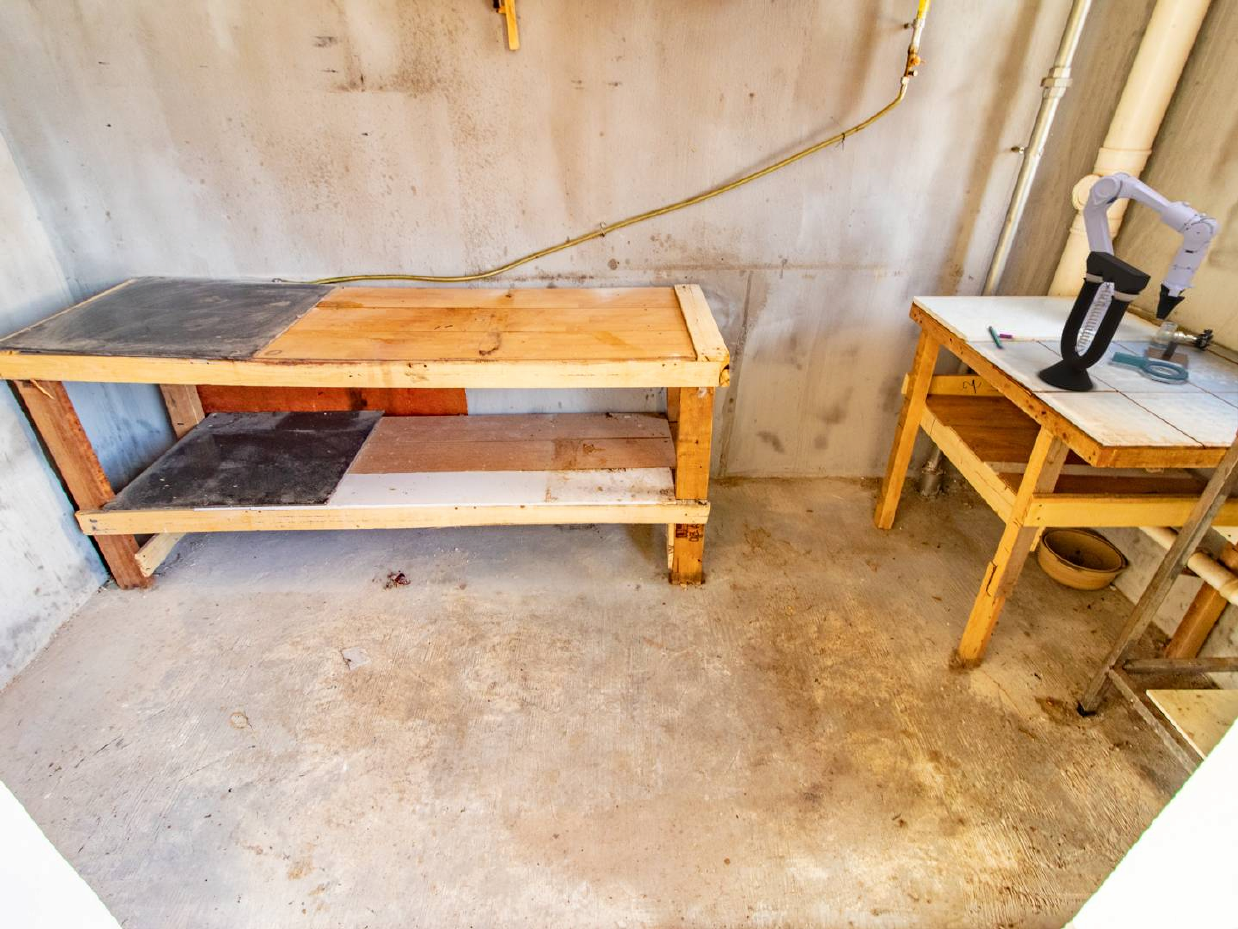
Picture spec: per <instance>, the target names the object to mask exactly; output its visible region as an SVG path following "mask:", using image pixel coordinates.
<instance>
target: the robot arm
mask: <svg viewBox="0 0 1238 929" xmlns="http://www.w3.org/2000/svg"><path fill="white" fill-rule="evenodd" d="M1118 199H1133V200H1135V201H1136V202H1138V203H1140V204H1142V205H1144V206H1146V207H1147V208H1149V209H1151V210H1153V211H1155V212H1156V213H1158V214H1159V220H1160V222H1161V223H1163V224H1164V225H1166V226H1168V227H1170V228H1171V229H1172V230H1174V231H1175V232H1177V233H1178V234H1180V235H1183V242H1182V244H1181V246H1180V247H1179V248H1178V251H1177V253H1176V255H1175V257H1174V259H1173V261H1172V263H1171V265H1170V267H1169V269H1168V271H1167V273H1166V275H1165V278H1164V279H1163V280H1162V282H1161V284H1160V291H1159V293H1158V295H1159V300H1158V303H1157V306H1156V314H1155V319H1157V320H1163V321H1165V320H1166V319H1167V318H1168V317H1169V315H1170V314H1172V312H1173V311H1174V309H1175V308H1176V307H1177V306H1178V305H1179V304H1180V303H1182V302H1183V301H1184V300H1185V298H1186V297H1185V296H1183V295H1181V294H1183V292H1185V291H1186V290H1188V289H1192V290H1193V289H1195V287H1196V284H1194V283H1192V281H1193V280H1194V277H1195V276H1196V273H1197V271H1198V269H1199V268H1200V266H1201V263H1202V261H1203V260H1204V258H1205V256H1206V253H1207V251H1208V249H1209V247H1210V245H1211V242H1212V240H1213V239H1214V238H1215V237H1216V236H1218V234H1220V233H1219V232H1220V230H1221V225H1220V223H1219V221H1218V220H1217V219H1216V218H1215V217H1207V214H1206V213H1204V212H1203V213H1200V212H1199V211H1197V210H1195V209H1194V208H1192V207H1191V203H1190V202H1188V201H1185V202H1183V201H1180V200H1178V201H1175V202H1172V201H1170V200H1168V199H1167V198H1165V197H1164V196H1162V194H1160V193H1159V192H1157V191H1155V189H1152V188H1151V187H1150V186H1148V185H1147V184H1146V183H1144V182H1143V181H1141V180H1140V179H1138V178H1137V177H1134V176H1131V175H1130V174H1129V173H1127V172H1123V171H1121V172H1117V173H1114V174H1108V175H1107V174H1106V175H1104V176H1103V175H1102V177H1100V178H1099V179H1097V180H1096V181H1095V183H1094V184H1093V185H1091V187H1090V188H1089V194H1088V197H1087V199H1086V202H1085V205H1084V207H1083V209H1082V210H1083V211H1082V215H1083V220H1084V221H1083V222H1084V226H1085V232H1086V237H1087V243H1088V247H1089V253H1090V252H1092V251H1098V252H1108V253H1110V254H1111V255H1113V256H1115V252H1114V248H1113V242H1112V236H1111V230H1110V225H1109V219H1108V211H1109V209H1110V208H1111V207H1112V206H1113V205H1114V204H1115V202H1116V201H1117V200H1118ZM1106 283H1107V285H1109V284H1110V287H1109V289H1108V288H1107V290H1108V291H1110V292H1111V293H1108V292H1102V293H1103V294H1106V295H1109V297H1108V296H1101V297H1103V298H1107V299H1108V300H1103V299H1099V300H1100V301H1102V302H1106V304H1104V303H1098V304H1099V305H1103V306H1104V307H1100V306H1096V307H1097V308H1099V309H1103V310H1102V311H1100V310H1094V311H1096V312H1100V313H1101V314H1097V313H1093V315H1097V316H1099V318H1098V317H1091V318H1093V319H1097V320H1098V321H1094V320H1089V321H1091V322H1094V323H1096V324H1091V323H1088V325H1091V326H1094V328H1092V327H1086V328H1088V329H1092V330H1093V331H1092V332H1097V330H1098V328H1099V326H1100V324H1101V322H1102V319H1103V317H1104V315H1105V313H1106V311H1107V309H1108V307H1109V305H1110V302H1111V300H1112V299H1111V296H1112V295H1114V283H1109V282H1104V283H1103V284H1102V285H1101V286H1100V287H1099V289H1098V291H1097V293H1096V296H1095V298H1094V300H1093V302H1092V304H1091V306H1090V309H1089V311H1088V313H1087V315H1086V317H1085V319H1084V321H1083V324H1082V326H1081V328H1080V329H1085V328H1084V327H1085V326H1087V325H1086V323H1087V322H1088V319H1090V318H1089V316H1091V312H1093V311H1092V309H1094V306H1095V305H1096V302H1098V301H1097V299H1098V298H1099V295H1101V293H1100V292H1101V291H1106V290H1105V289H1106Z"/></svg>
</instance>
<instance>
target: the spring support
mask: <svg viewBox="0 0 1238 929" xmlns="http://www.w3.org/2000/svg"><path fill="white" fill-rule="evenodd" d="M1085 263H1086V264H1085V267H1086V271H1085V277H1082V279H1083V283H1082V286H1081V287H1080V290H1079V292H1078V294H1077V296H1076V299H1075V301H1074V303H1073V305H1072V308H1071V310H1070V313H1069V315H1068V317H1067V319H1066V321H1065V323H1064V326H1063V329H1062V332H1061V336H1060V355H1061V358H1062V359H1061V360H1059V361H1057V362H1055V363H1054V364H1052V365H1050V366H1048V367H1046V368H1045V369H1042V370H1041V371H1039V374H1038V375H1039V377H1040V378H1041V379H1042V380H1044V381H1045V382H1047V383H1049V384H1052V385H1054V386H1055V387H1060V388H1063V389H1065V390H1066V389H1067V390H1072V391H1090V390H1092V389H1093V388H1094V384H1093V382H1092V379H1091V377H1090V374H1089V372H1088V369H1090V368H1091V367H1093V366H1094V365H1096V364H1097V363H1098V362H1099V361H1100V360H1101V359H1102V358H1103V357H1104V355H1105V353H1106V352H1107V350H1108V348H1109V346H1110V344H1111V343H1112V340H1113V338H1114V336H1115V334H1116V333H1117V331H1118V328H1119V326H1120V325H1121V322H1122V320H1123V318H1124V316H1125V314H1126V312H1127V310H1128V308H1129V306H1130V304H1131V303H1132V302H1134V300H1135V299H1136V298H1137V297H1138V296H1140V295H1141V293H1140V292H1142V291H1143V290H1145V289H1146V288H1147V286H1148V284H1149V283H1150V280H1151V278H1152V276H1151V275H1149V274H1147V273H1146V272H1144V271H1142V270H1140V269H1139V268H1137V267H1135V266H1133V265H1131V264H1129V263H1127V262H1126V261H1124V260H1122V259H1121V258H1118V257H1117V256H1115V255H1114V256H1113V255H1111V254H1110V253H1108V252H1098V251H1092V252H1090V251H1089V253H1088V256H1087V257H1086V260H1085ZM1104 282H1109V283H1114V295H1112V296H1111V299H1112V300H1111V302H1110V305H1109V307H1108V309H1107V311H1106V313H1105V315H1104V317H1103V319H1102V322H1101V324H1100V326H1099V328H1098V330H1097V331H1095V335H1094V336H1093V338H1092V341H1091V342H1090V345H1089V347H1087V350H1086V351H1085V352H1084V353H1083V354H1082V355H1080V354H1079V352H1083V351H1084V348H1086V346H1085V345H1087V342H1089V338H1091V337H1090V335H1092V332H1094V331H1093V330H1092V329H1088V328H1086V327H1092V328H1094V326H1091V325H1088V323H1091V324H1096V323H1094V322H1091V321H1089V320H1094V321H1098V320H1097V319H1093V318H1091V317H1098V318H1099V316H1097V315H1093V313H1097V314H1101V313H1100V312H1096V311H1094V310H1100V311H1102V310H1103V309H1099V308H1097V307H1096V306H1100V307H1104V306H1103V305H1099V304H1098V303H1104V304H1106V302H1102V301H1100V300H1099V299H1103V300H1108V299H1107V298H1103V297H1101V296H1108V297H1109V295H1106V294H1103V293H1102V292H1108V293H1111V292H1110V291H1108V290H1107V288H1108V289H1109V287H1110V284H1109V285H1107V283H1106V289H1105V290H1106V291H1101V292H1100V293H1101V295H1099V298H1098V299H1097V301H1098V302H1096V305H1095V306H1094V309H1092V311H1093V312H1091V316H1089V318H1090V319H1088V322H1087V323H1086V325H1087V326H1085V327H1084V328H1085V329H1084V328H1081V326H1082V324H1083V321H1084V319H1085V317H1086V315H1087V313H1088V311H1089V309H1090V306H1091V304H1092V302H1093V300H1094V298H1095V296H1096V293H1097V291H1098V289H1099V287H1100V286H1101V285H1102V284H1103V283H1104ZM1081 329H1083V330H1082V332H1081V335H1080V336H1079V333H1080V330H1081ZM1078 337H1079V338H1078ZM1081 344H1082V345H1081ZM1078 347H1080V348H1081V349H1078Z"/></svg>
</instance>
